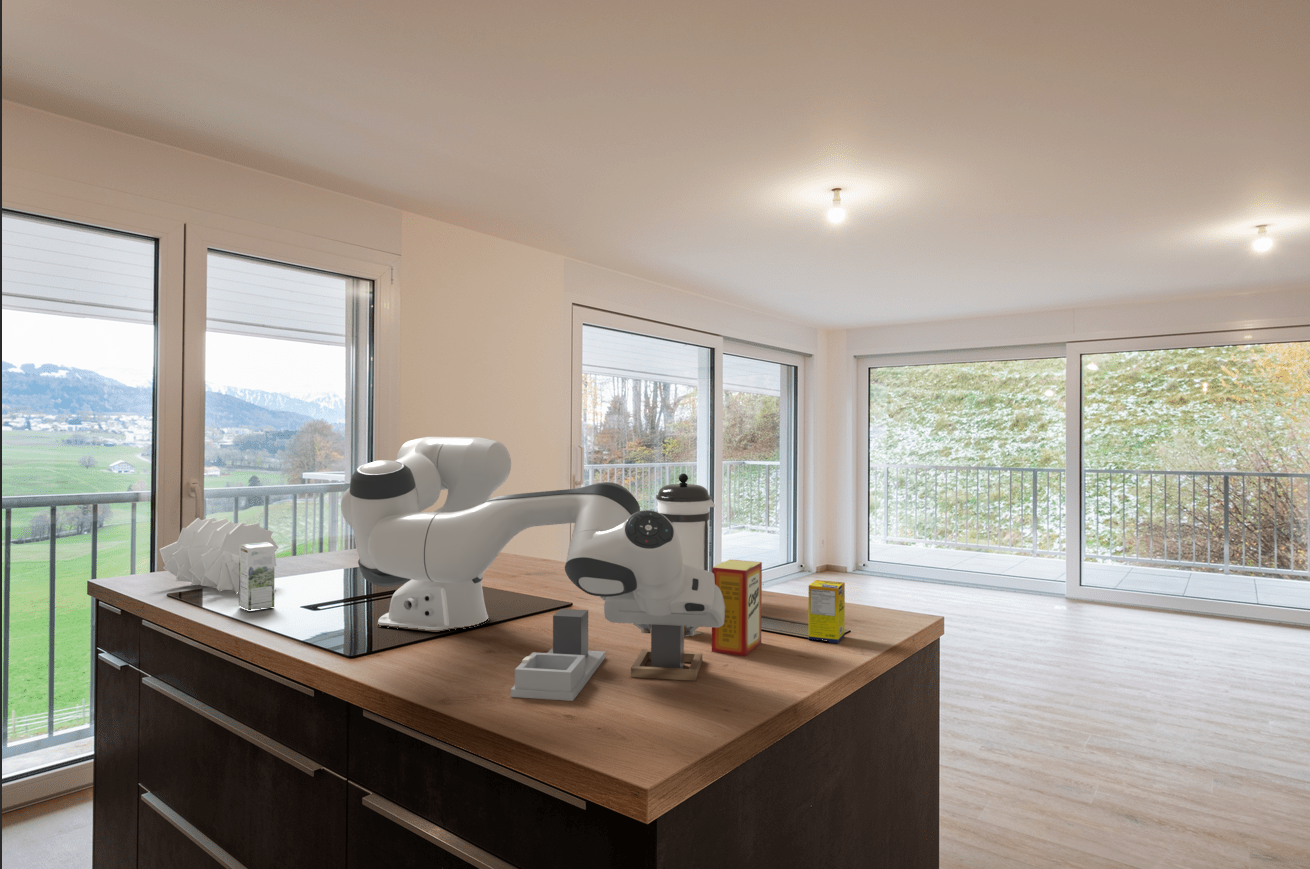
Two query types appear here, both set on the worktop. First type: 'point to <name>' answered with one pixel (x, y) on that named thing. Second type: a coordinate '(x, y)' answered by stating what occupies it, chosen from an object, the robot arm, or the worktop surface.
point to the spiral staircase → (212, 552)
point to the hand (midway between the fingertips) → (668, 630)
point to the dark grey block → (667, 646)
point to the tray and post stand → (559, 661)
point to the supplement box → (826, 611)
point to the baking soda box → (739, 607)
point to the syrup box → (256, 575)
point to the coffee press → (688, 519)
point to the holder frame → (667, 673)
